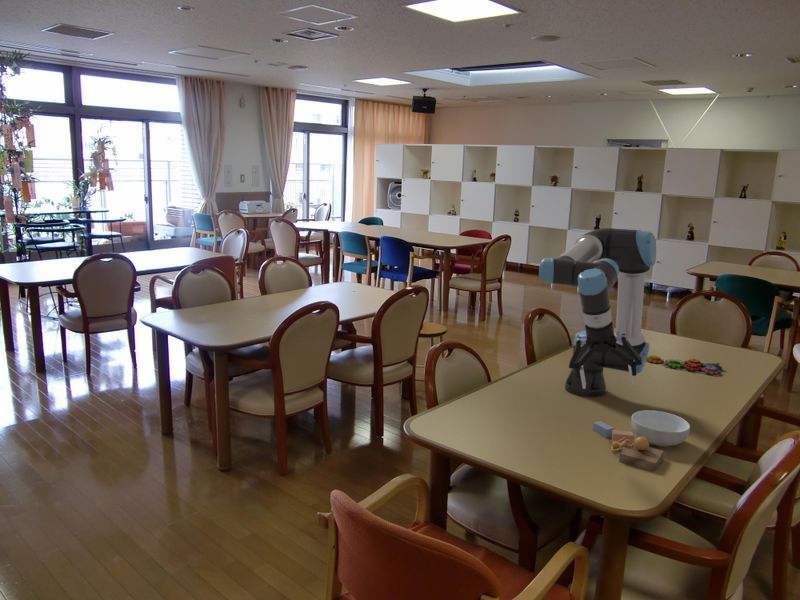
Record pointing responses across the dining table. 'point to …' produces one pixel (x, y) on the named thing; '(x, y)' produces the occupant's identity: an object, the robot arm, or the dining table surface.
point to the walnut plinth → (642, 457)
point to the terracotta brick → (621, 436)
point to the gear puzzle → (689, 365)
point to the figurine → (639, 443)
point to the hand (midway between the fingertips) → (608, 385)
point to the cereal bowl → (660, 427)
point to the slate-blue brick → (602, 429)
